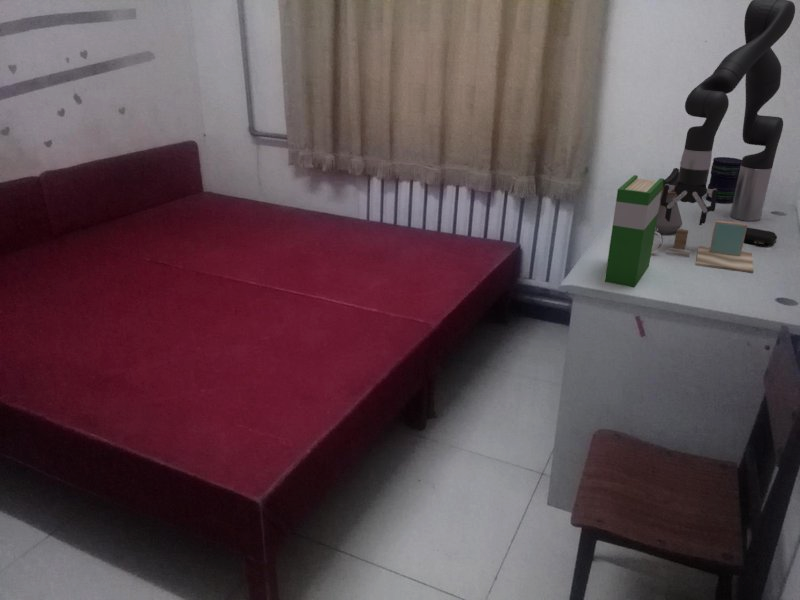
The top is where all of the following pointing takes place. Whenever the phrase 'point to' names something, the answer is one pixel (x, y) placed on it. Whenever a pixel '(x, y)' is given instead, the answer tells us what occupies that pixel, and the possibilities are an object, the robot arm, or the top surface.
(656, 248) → the ring
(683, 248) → the brown rectangular block
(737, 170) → the storage jar
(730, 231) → the tile
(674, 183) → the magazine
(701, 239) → the top surface
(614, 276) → the hardback book
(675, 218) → the coffee pot
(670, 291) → the top surface
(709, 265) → the board
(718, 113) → the robot arm
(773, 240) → the carrying case or bag
